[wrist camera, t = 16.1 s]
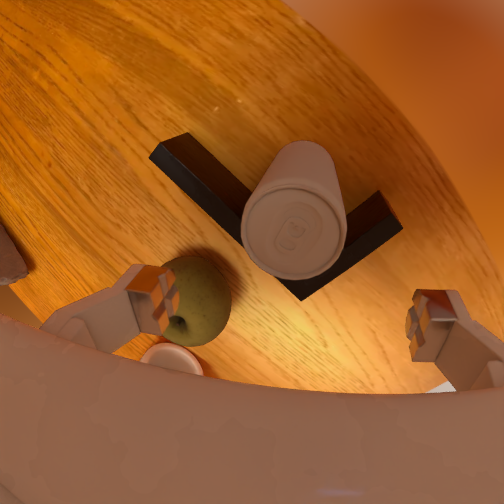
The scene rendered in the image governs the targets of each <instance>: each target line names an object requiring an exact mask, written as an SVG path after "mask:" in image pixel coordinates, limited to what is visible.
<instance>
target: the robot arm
mask: <svg viewBox="0 0 504 504" xmlns="http://www.w3.org/2000/svg"><path fill="white" fill-rule="evenodd" d="M175 280H176V276H175V271H174V270H173V269H172V268H166V267H159V266H151V265H144V264H133V265H132V266H131V267H130V268H129V269H128V270H127V271H126V272H125V273H124V274H123V276H122V277H121V278H120V279H119V280H118V281H117V282H116V283H115V284H114V285H113V287H112V288H109V287H108V288H105V289H103V290H101V291H98V292H96V293H94V294H92V295H89V296H87V297H85V298H83V299H80V300H78V301H76V302H74V303H71V304H69V305H67V306H65V307H62V308H60V309H58V310H56V311H55V312H54V313H53V314H52V315H51V316H50V317H49V318H48V319H47V320H46V322H45V323H44V324H43V325H42V326H41V327H40V328H39V329H37V328H35V327H32V326H29V325H27V324H25V323H22V322H20V321H18V320H15V319H13V318H10V317H8V316H6V315H4V314H2V313H0V504H504V343H503V342H502V341H501V340H500V339H498V338H497V337H496V336H495V335H493V334H492V333H491V332H490V331H488V330H487V329H486V328H484V327H483V326H482V325H481V324H479V323H478V322H477V321H472V319H471V317H470V315H469V313H468V311H467V309H466V307H465V305H464V303H463V301H462V299H461V297H460V295H459V293H458V291H456V290H429V289H416V291H415V292H414V295H413V298H412V300H413V304H414V306H412V307H411V308H410V309H409V310H408V313H407V317H406V323H405V331H406V336H407V338H408V339H409V340H410V341H411V343H410V345H409V349H410V354H411V358H412V362H435V365H436V366H437V367H438V368H439V369H440V371H441V372H442V373H443V374H444V376H445V377H446V378H447V379H448V381H449V382H450V383H451V384H452V386H453V387H454V388H455V389H456V391H455V392H442V393H421V394H358V393H337V392H322V391H309V390H298V389H288V388H279V387H271V386H263V385H255V384H248V383H241V382H235V381H229V380H223V379H217V378H212V377H206V376H201V375H196V374H191V373H186V372H181V371H177V370H172V369H168V368H164V367H159V366H155V365H151V364H147V363H143V362H139V361H136V360H132V359H128V358H124V357H121V356H117V355H114V354H111V353H113V352H114V351H116V350H117V349H119V348H120V347H121V346H123V345H124V344H126V343H127V342H129V341H130V340H132V339H133V338H135V337H136V336H138V335H139V334H140V332H142V333H148V334H153V335H159V336H162V335H163V333H164V332H165V330H166V328H167V327H168V325H169V319H168V318H170V317H171V316H173V315H175V313H176V311H177V309H178V305H179V291H178V288H177V287H176V286H175V285H174V284H173V283H174V282H175Z"/></svg>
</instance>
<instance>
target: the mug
mask: <svg viewBox="0 0 504 504" xmlns="http://www.w3.org/2000/svg"><path fill="white" fill-rule="evenodd" d="M139 362H143V363H147V364H151V365H155V366H159V367H164V368H168V369H172V370H177V371H181V372H186V373H191V374H196V375H201V376H204V374H203V370H202V368H201V365H200V364H199V362H198V360H197V359H196V358H195V357H194V356H193V355H192V354H191V353H190V352H189V351H188V350H186V349H185V348H183V347H181V346H179V345H176V344H172V343H160V344H156V345H154V346H152V347H151V348H149V349H148V350H147V351H146V353H145V354H144V355H143V357H142V358H141V360H140V361H139Z"/></svg>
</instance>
